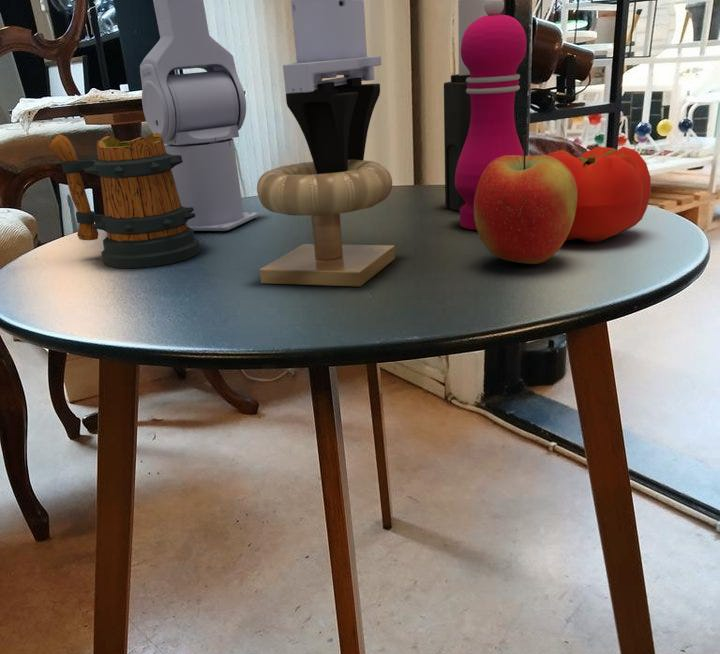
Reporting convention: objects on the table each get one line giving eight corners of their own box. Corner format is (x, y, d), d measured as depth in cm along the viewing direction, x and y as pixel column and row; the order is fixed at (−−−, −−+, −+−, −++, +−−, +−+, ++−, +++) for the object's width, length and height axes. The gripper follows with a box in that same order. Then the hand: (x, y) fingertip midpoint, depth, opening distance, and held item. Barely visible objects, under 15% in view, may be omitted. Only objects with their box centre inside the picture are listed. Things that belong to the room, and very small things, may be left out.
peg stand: (260, 283, 65) (249, 200, 61) (304, 256, 72) (296, 181, 69) (360, 287, 62) (354, 199, 58) (395, 258, 69) (392, 179, 66)
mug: (215, 241, 80) (196, 120, 75) (185, 266, 72) (161, 131, 66) (98, 247, 82) (70, 129, 76) (54, 272, 73) (20, 141, 68)
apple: (585, 254, 66) (595, 126, 61) (555, 279, 60) (562, 139, 55) (496, 249, 70) (498, 128, 65) (459, 271, 64) (459, 140, 59)
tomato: (530, 252, 67) (533, 161, 64) (524, 226, 77) (527, 145, 73) (657, 248, 66) (668, 154, 62) (635, 221, 75) (644, 138, 72)
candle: (441, 207, 88) (437, -56, 76) (479, 200, 90) (481, -58, 78) (464, 213, 84) (464, -64, 72) (504, 206, 86) (510, -65, 74)
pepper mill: (540, 225, 77) (551, -12, 67) (476, 235, 75) (478, -8, 65) (503, 214, 83) (508, -5, 73) (442, 223, 81) (439, -1, 71)
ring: (236, 218, 62) (230, 179, 60) (294, 194, 71) (290, 158, 69) (364, 219, 58) (361, 177, 56) (408, 193, 67) (407, 156, 65)
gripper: (340, -13, 53) (354, 195, 59) (403, -7, 64) (409, 166, 71) (249, -3, 55) (272, 195, 62) (326, 0, 67) (339, 167, 74)
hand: (341, 180), depth 67 cm, fingers closed on ring, 3 cm apart
